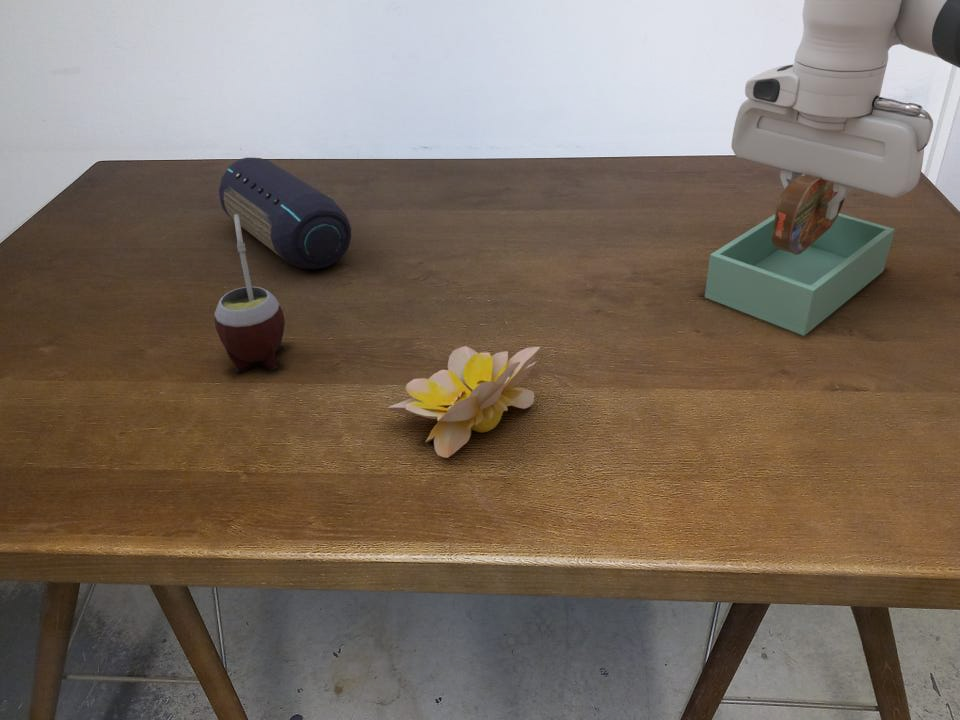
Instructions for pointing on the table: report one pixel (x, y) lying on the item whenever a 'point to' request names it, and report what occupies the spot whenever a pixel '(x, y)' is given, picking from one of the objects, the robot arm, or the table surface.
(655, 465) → the table surface
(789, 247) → the tin
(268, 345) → the mate gourd
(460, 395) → the decorative flower
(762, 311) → the bin
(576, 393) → the table surface
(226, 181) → the portable speaker
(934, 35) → the robot arm
